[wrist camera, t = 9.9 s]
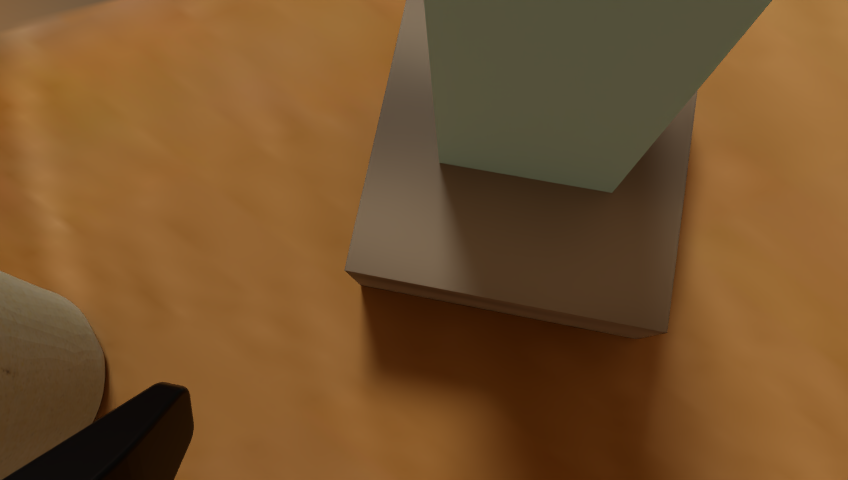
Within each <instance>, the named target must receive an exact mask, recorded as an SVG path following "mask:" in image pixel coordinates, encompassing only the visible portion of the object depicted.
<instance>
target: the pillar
mask: <svg viewBox="0 0 848 480" xmlns="http://www.w3.org/2000/svg"><path fill="white" fill-rule="evenodd" d="M771 1H772V0H424V8H425V19H426V29H427V40H428V50H429V61H430V71H431V82H432V92H433V103H434V113H435V124H436V134H437V145H438V155H439V163H444V164H449V165H455V166H461V167H467V168H472V169H478V170H484V171H490V172H495V173H501V174H507V175H513V176H518V177H524V178H530V179H535V180H541V181H547V182H553V183H558V184H564V185H570V186H576V187H581V188H587V189H593V190H598V191H604V192H610V193H612V192H613V191H614V190H615V189H616V188H617V186H618V185H619V184H620V183H621V182H622V180H623V179H624V178H625V177H626V176H627V174H628V173H629V172H630V171H631V170H632V168H633V167H634V166H635V165H636V163H637V162H638V161H639V160H640V159H641V157H642V156H643V155H644V154H645V153H646V151H647V150H648V149H649V148H650V147H651V145H652V144H653V143H654V142H655V141H656V139H657V138H658V137H659V136H660V135H661V133H662V132H663V131H664V130H665V129H666V127H667V126H668V125H669V124H670V123H671V121H672V120H673V119H674V118H675V117H676V115H677V114H678V113H679V112H680V111H681V109H682V108H683V107H684V106H685V105H686V103H687V102H688V101H689V100H690V98H691V97H692V96H693V95H694V94H695V92H696V91H697V90H698V89H699V88H700V86H701V85H702V84H703V83H704V82H705V80H706V79H707V78H708V77H709V76H710V74H711V73H712V72H713V71H714V70H715V68H716V67H717V66H718V65H719V64H720V62H721V61H722V60H723V59H724V58H725V56H726V55H727V54H728V53H729V52H730V50H731V49H732V48H733V47H734V46H735V44H736V43H737V42H738V41H739V40H740V38H741V37H742V36H743V35H744V33H745V32H746V31H747V30H748V29H749V27H750V26H751V25H752V24H753V23H754V21H755V20H756V19H757V18H758V17H759V15H760V14H761V13H762V12H763V11H764V9H765V8H766V7H767V6H768V5H769V3H770V2H771Z"/></svg>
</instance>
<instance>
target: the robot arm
mask: <svg viewBox="0 0 848 480" xmlns="http://www.w3.org/2000/svg"><path fill="white" fill-rule="evenodd" d="M193 430H194V422H193V415H192V407H191V400H190V394H189V391H188V389H187V388H186V387H184V386H180V385H175V384H171V383H166V382H160V383H157V384H154V385H153V386H151V387H149V388H148V389H146V390H144V391H143V392H141V393H140V394H138V395H136V396H135V397H133V398H132V399H130V400H128V401H127V402H125V403H124V404H122V405H120V406H119V407H117V408H116V409H114V410H112V411H111V412H109V413H108V414H106V415H104V416H103V417H101V418H100V419H98V420H96V421H95V422H93V423H92V424H90V425H88V426H87V427H85V428H84V429H82V430H80V431H79V432H77V433H76V434H74V435H72V436H71V437H69V438H67V439H66V440H64V441H63V442H61V443H59V444H58V445H56V446H55V447H53V448H51V449H50V450H48V451H47V452H45V453H43V454H42V455H40V456H39V457H37V458H35V459H34V460H32V461H31V462H29V463H27V464H26V465H24V466H23V467H21V468H19V469H18V470H16V471H15V472H13V473H11V474H10V475H8V476H7V477H5V478H3V479H2V480H174V478H175V476H176V474H177V471H178V469H179V467H180V464H181V462H182V460H183V458H184V455H185V453H186V451H187V449H188V446H189V444H190V441H191V439H192V435H193Z"/></svg>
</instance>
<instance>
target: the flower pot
mask: <svg viewBox="0 0 848 480" xmlns="http://www.w3.org/2000/svg"><path fill="white" fill-rule="evenodd" d="M104 382H105V360H104V354H103V350H102V348H101V346H100V344H99V342H98V340H97V338H96V336H95V334H94V332H93V330H92V328H91V327H90V325H89V323H88V321H87V319H86V318H85V316H84V315H83V313H82V312H81V311H80V310H79V309H78V308H77V307H76V306H75V305H74V304H73V303H71V302H70V301H69V300H67V299H66V298H64V297H62V296H60V295H58V294H56V293H54V292H51V291H48V290H45V289H42V288H40V287H37V286H35V285H33V284H30V283H28V282H25V281H23V280H21V279H18V278H16V277H13V276H11V275H8V274H6V273H4V272H1V271H0V480H2V479H3V478H5V477H7V476H8V475H10V474H11V473H13V472H15V471H16V470H18V469H19V468H21V467H23V466H24V465H26V464H27V463H29V462H31V461H32V460H34V459H35V458H37V457H39V456H40V455H42V454H43V453H45V452H47V451H48V450H50V449H51V448H53V447H55V446H56V445H58V444H59V443H61V442H63V441H64V440H66V439H67V438H69V437H71V436H72V435H74V434H76V433H77V432H79V431H80V430H82V429H84V428H85V427H87V426H88V425H90V424H92V422H93V420H94V418H95V416H96V414H97V412H98V409H99V406H100V403H101V400H102V396H103V391H104Z"/></svg>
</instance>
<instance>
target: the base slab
mask: <svg viewBox="0 0 848 480" xmlns="http://www.w3.org/2000/svg"><path fill="white" fill-rule="evenodd" d="M696 97H697V91H696V92H695V94H694V95H693V96H692V97H691V98H690V100H689V101H688V102H687V103H686V105H685V106H684V107H683V108H682V109H681V111H680V112H679V113H678V114H677V115H676V117H675V118H674V119H673V120H672V121H671V123H670V124H669V125H668V126H667V127H666V129H665V130H664V131H663V132H662V133H661V135H660V136H659V137H658V138H657V139H656V141H655V142H654V143H653V144H652V145H651V147H650V148H649V149H648V150H647V151H646V153H645V154H644V155H643V156H642V157H641V159H640V160H639V161H638V162H637V163H636V165H635V166H634V167H633V168H632V170H631V171H630V172H629V173H628V174H627V176H626V177H625V178H624V179H623V180H622V182H621V183H620V184H619V185H618V186H617V188H616V189H615V190H614V191H613V192H612V193H610V192H604V191H598V190H593V189H587V188H581V187H576V186H570V185H564V184H558V183H553V182H547V181H541V180H535V179H530V178H524V177H518V176H513V175H507V174H501V173H495V172H490V171H484V170H478V169H472V168H467V167H461V166H455V165H449V164H444V163H439V155H438V145H437V134H436V124H435V113H434V103H433V92H432V82H431V71H430V61H429V50H428V40H427V29H426V19H425V8H424V0H406V4H405V8H404V13H403V17H402V21H401V26H400V30H399V34H398V39H397V43H396V47H395V52H394V56H393V61H392V65H391V69H390V74H389V78H388V82H387V87H386V91H385V95H384V100H383V104H382V109H381V113H380V117H379V122H378V126H377V130H376V135H375V139H374V143H373V148H372V152H371V157H370V161H369V165H368V170H367V174H366V178H365V183H364V187H363V191H362V196H361V200H360V205H359V209H358V213H357V218H356V222H355V226H354V231H353V235H352V239H351V244H350V248H349V253H348V257H347V261H346V266H345V271H346V272H347V273H348V274H349V275H350V276H351V277H352V278H353V279H355V280H356V281H357V282H358V283H359V284H360V285H363V286H368V287H373V288H378V289H383V290H388V291H394V292H399V293H404V294H409V295H414V296H419V297H424V298H429V299H435V300H440V301H445V302H450V303H455V304H460V305H465V306H470V307H476V308H481V309H486V310H491V311H496V312H501V313H506V314H511V315H516V316H522V317H527V318H532V319H537V320H542V321H547V322H552V323H557V324H563V325H568V326H573V327H578V328H583V329H588V330H593V331H598V332H604V333H609V334H614V335H619V336H624V337H629V338H634V339H639V338H644V337H649V336H653V335H658V334H663V333H667V329H668V321H669V313H670V305H671V297H672V289H673V281H674V273H675V265H676V257H677V249H678V241H679V233H680V225H681V217H682V209H683V201H684V193H685V185H686V177H687V169H688V161H689V153H690V145H691V137H692V129H693V121H694V113H695V105H696Z"/></svg>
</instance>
